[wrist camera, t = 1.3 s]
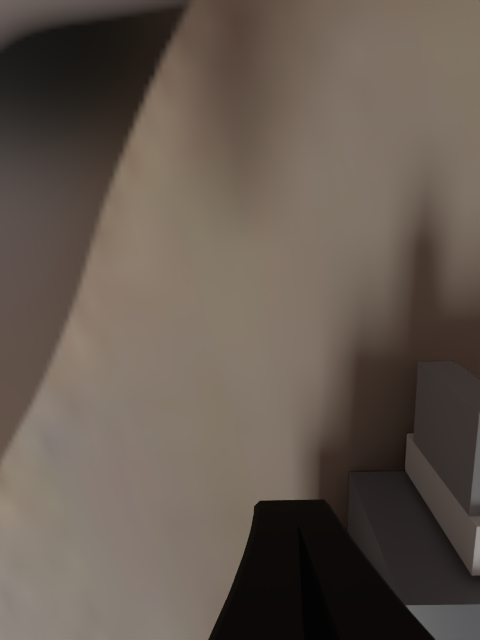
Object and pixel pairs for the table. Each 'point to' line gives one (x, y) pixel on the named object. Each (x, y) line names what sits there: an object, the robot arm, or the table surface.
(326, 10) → the table surface
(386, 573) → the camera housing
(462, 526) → the camera door
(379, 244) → the table surface
